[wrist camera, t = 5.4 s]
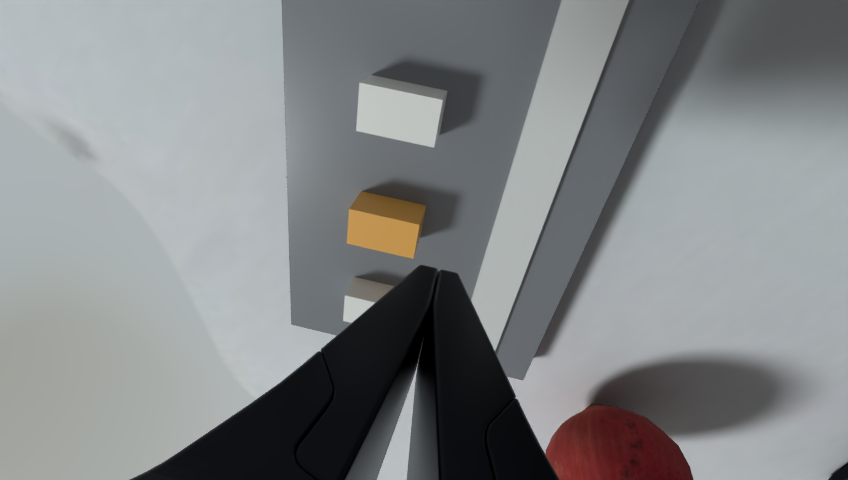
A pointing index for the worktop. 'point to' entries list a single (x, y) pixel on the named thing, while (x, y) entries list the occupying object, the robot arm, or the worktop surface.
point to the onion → (614, 448)
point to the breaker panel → (463, 144)
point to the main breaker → (385, 224)
